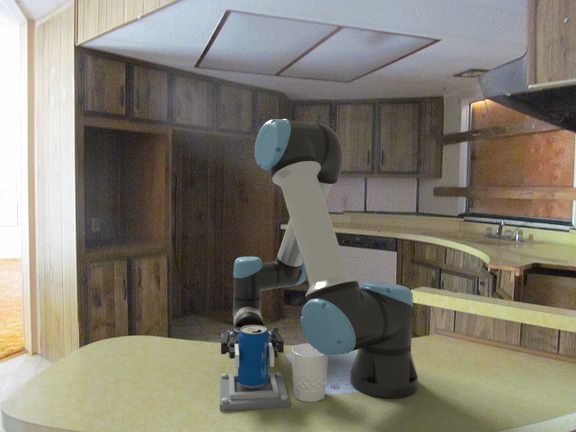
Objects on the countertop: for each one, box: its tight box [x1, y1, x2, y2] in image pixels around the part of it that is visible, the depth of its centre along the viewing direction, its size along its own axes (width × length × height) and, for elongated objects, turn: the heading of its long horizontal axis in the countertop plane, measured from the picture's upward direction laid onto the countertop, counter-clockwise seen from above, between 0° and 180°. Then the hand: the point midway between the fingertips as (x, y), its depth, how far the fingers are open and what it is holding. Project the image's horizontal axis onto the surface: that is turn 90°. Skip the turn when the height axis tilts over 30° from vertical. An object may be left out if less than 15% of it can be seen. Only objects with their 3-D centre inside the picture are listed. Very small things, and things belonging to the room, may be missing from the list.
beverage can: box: [237, 325, 269, 388], centre depth 101 cm, size 6×6×12 cm
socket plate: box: [219, 371, 290, 411], centre depth 102 cm, size 14×14×2 cm
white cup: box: [291, 342, 329, 403], centre depth 101 cm, size 8×8×10 cm
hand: (254, 360), depth 96 cm, fingers closed on beverage can, 6 cm apart
